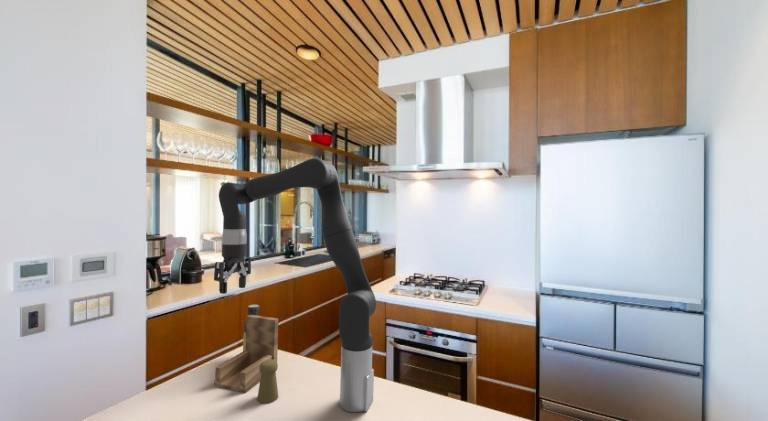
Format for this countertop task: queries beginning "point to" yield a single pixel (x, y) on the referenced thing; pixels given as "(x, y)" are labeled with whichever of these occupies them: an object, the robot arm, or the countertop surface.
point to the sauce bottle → (251, 311)
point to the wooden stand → (250, 355)
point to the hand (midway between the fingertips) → (233, 290)
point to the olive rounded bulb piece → (268, 382)
